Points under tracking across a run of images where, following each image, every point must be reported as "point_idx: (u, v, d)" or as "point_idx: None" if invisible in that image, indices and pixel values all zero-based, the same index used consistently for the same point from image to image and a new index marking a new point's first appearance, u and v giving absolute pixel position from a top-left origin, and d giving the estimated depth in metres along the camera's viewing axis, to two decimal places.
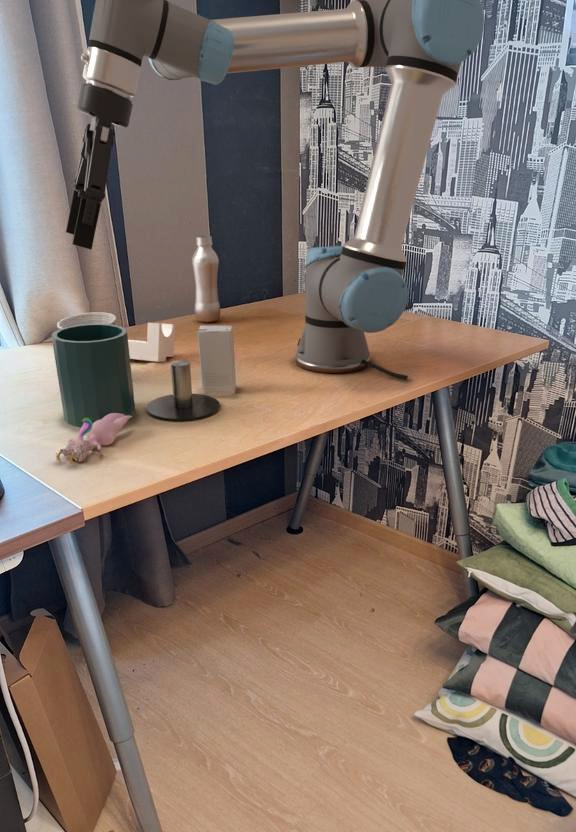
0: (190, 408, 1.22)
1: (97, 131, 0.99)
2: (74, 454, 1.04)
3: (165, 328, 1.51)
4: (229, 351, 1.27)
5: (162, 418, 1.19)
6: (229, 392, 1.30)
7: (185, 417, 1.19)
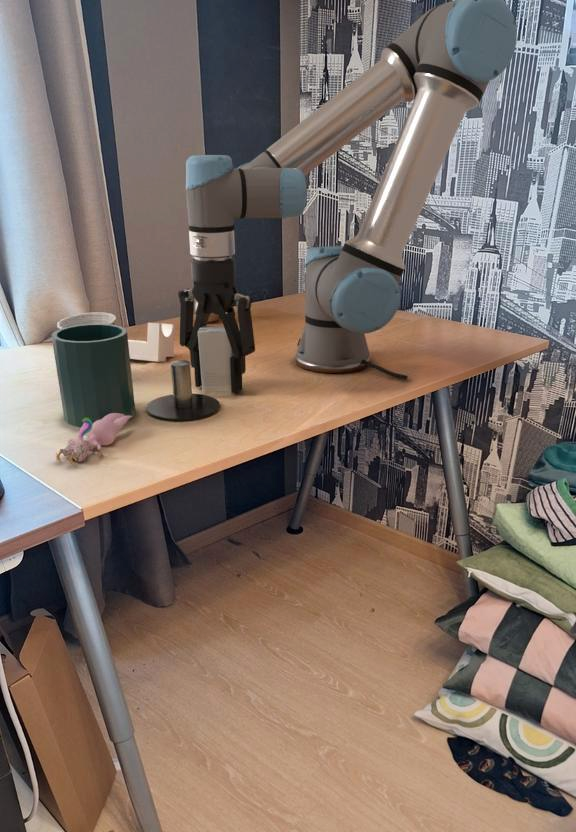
0: (190, 408, 1.22)
1: (245, 304, 1.21)
2: (74, 454, 1.04)
3: (165, 328, 1.51)
4: (229, 351, 1.27)
5: (162, 418, 1.19)
6: (229, 392, 1.30)
7: (185, 417, 1.19)
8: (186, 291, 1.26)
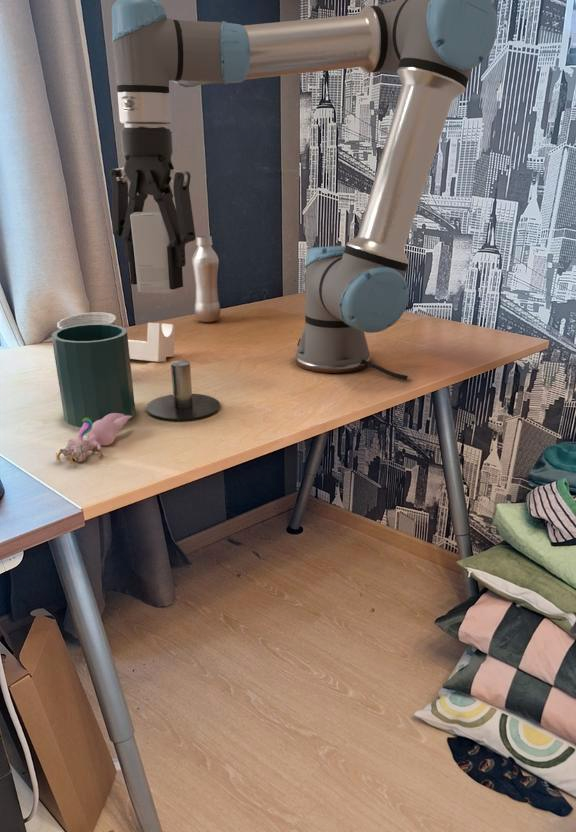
0: (190, 408, 1.22)
1: (181, 180, 1.07)
2: (74, 454, 1.04)
3: (165, 328, 1.51)
4: (166, 239, 1.12)
5: (162, 418, 1.19)
6: (168, 289, 1.16)
7: (185, 417, 1.19)
8: (118, 170, 1.12)
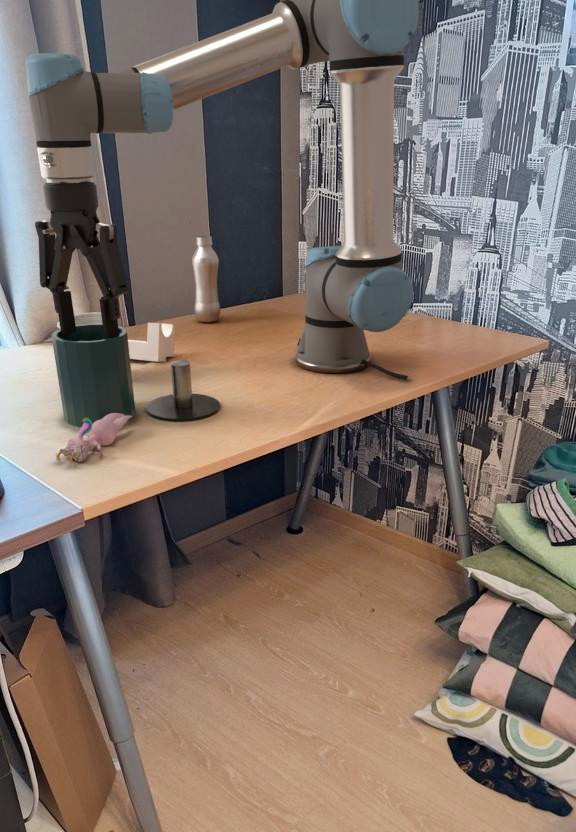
0: (190, 408, 1.22)
1: (107, 234, 1.04)
2: (74, 454, 1.04)
3: (165, 328, 1.51)
4: None
5: (162, 418, 1.19)
6: None
7: (185, 417, 1.19)
8: (44, 222, 1.08)
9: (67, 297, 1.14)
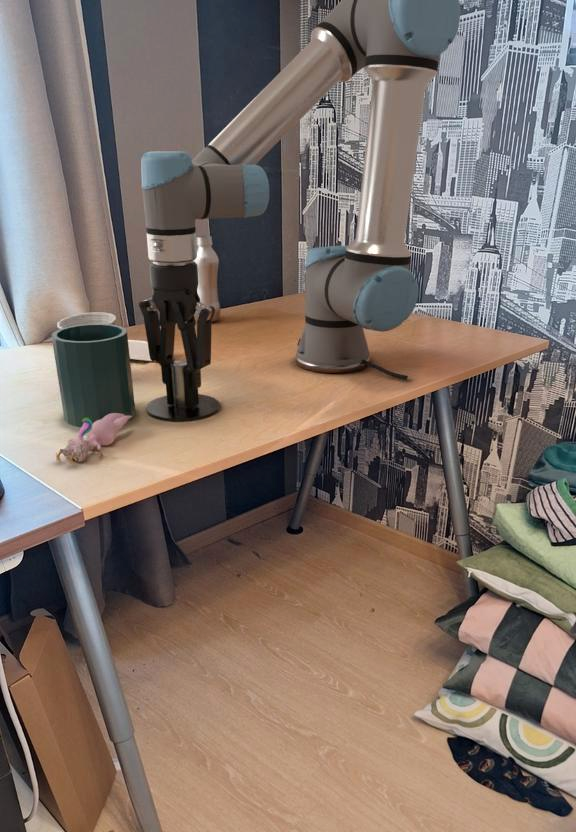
0: None
1: (206, 317, 1.13)
2: (74, 454, 1.04)
3: None
4: None
5: (162, 418, 1.19)
6: None
7: (185, 417, 1.19)
8: (147, 301, 1.17)
9: None
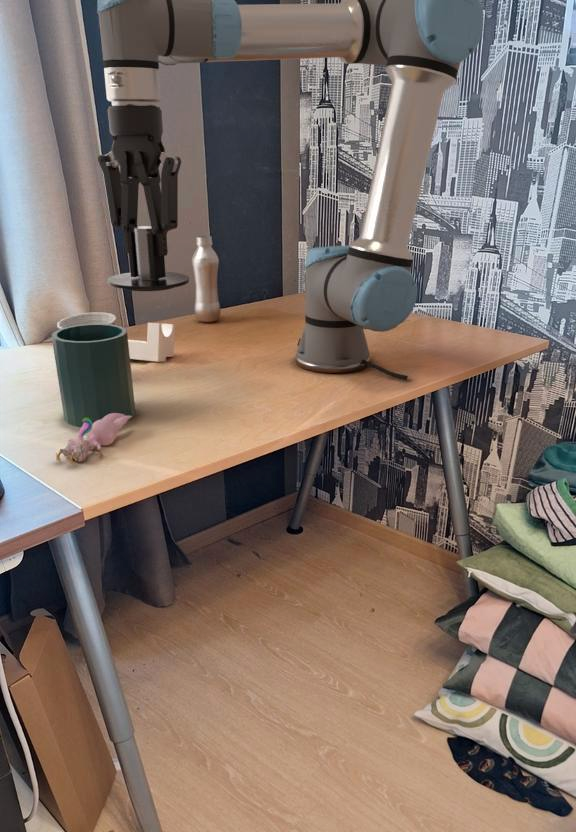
0: (156, 280, 1.11)
1: (171, 167, 1.02)
2: (74, 454, 1.04)
3: (165, 328, 1.51)
4: None
5: (124, 286, 1.08)
6: None
7: (149, 285, 1.08)
8: (107, 155, 1.06)
9: None
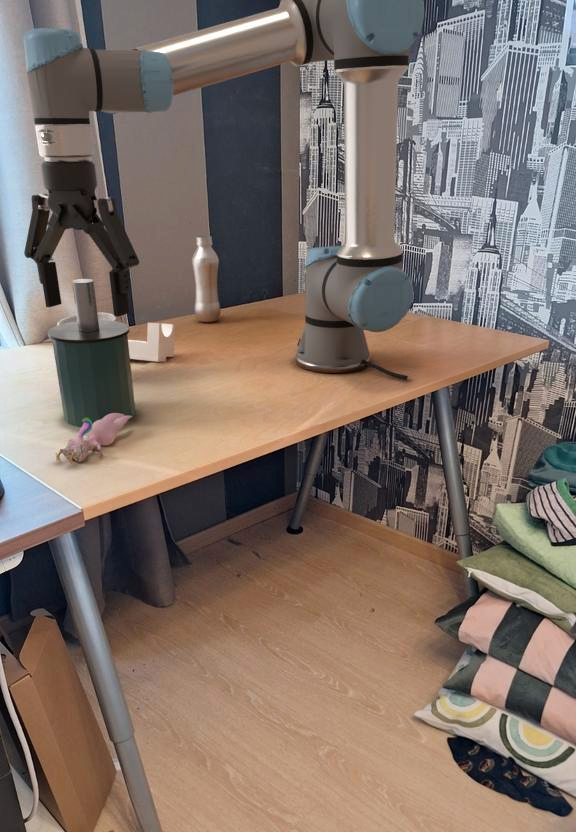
0: (95, 331, 1.13)
1: (105, 206, 1.02)
2: (74, 454, 1.04)
3: (165, 328, 1.51)
4: None
5: (62, 340, 1.09)
6: None
7: (87, 339, 1.09)
8: (42, 197, 1.07)
9: (52, 268, 1.13)
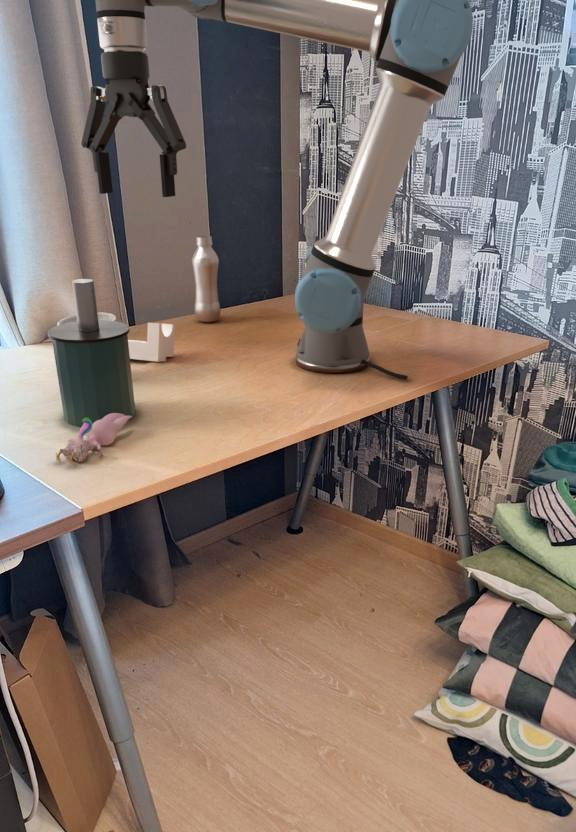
0: (95, 331, 1.13)
1: (158, 92, 1.15)
2: (74, 454, 1.04)
3: (165, 328, 1.51)
4: None
5: (62, 340, 1.09)
6: None
7: (87, 339, 1.09)
8: (99, 89, 1.20)
9: (106, 158, 1.26)
